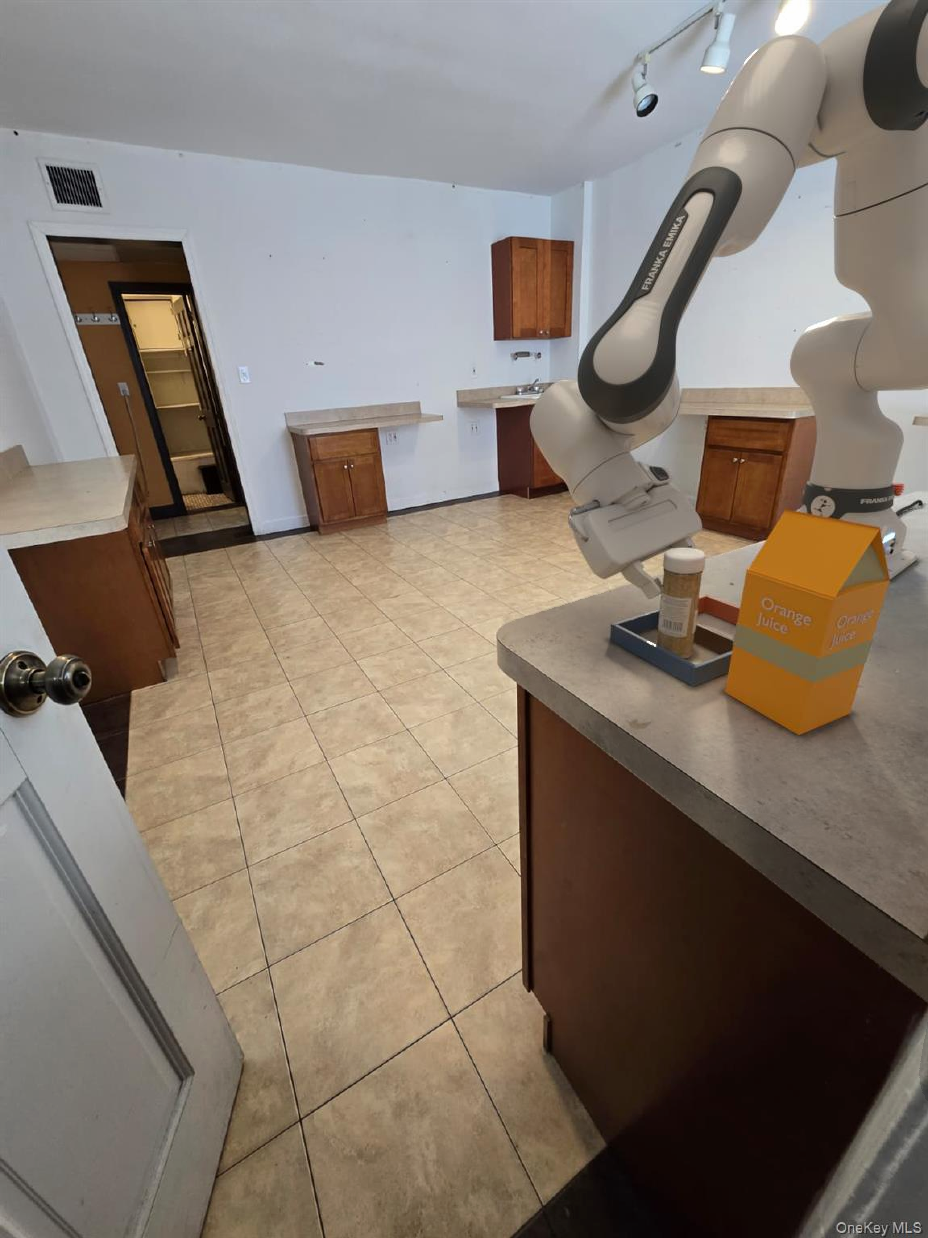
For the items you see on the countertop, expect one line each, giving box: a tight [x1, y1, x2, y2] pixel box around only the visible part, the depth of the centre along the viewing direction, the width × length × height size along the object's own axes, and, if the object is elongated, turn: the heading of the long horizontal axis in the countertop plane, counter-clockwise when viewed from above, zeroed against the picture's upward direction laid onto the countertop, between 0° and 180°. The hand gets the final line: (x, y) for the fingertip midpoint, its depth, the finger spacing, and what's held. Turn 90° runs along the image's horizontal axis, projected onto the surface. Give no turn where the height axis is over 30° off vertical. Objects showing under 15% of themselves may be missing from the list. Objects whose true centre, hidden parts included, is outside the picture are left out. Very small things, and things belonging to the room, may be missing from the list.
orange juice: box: [724, 508, 891, 736], centre depth 50 cm, size 8×9×20 cm
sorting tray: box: [609, 594, 740, 688], centre depth 67 cm, size 18×14×2 cm
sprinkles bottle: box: [655, 548, 707, 660], centre depth 63 cm, size 5×5×13 cm
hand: (678, 584), depth 62 cm, fingers open, 8 cm apart
